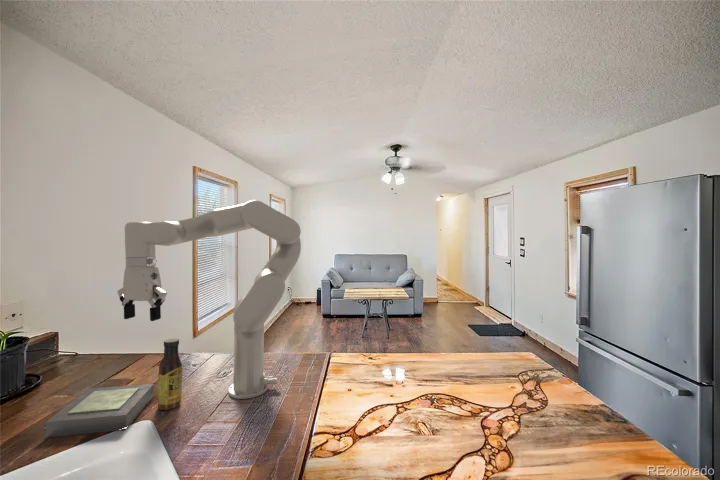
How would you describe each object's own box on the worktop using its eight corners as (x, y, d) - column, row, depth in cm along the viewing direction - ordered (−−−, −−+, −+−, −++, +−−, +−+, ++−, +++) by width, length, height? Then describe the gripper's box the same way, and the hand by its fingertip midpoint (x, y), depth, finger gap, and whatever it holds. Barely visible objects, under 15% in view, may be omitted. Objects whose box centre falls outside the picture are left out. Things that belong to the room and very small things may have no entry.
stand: (153, 396, 104) (153, 382, 104) (126, 429, 86) (126, 413, 86) (88, 401, 100) (88, 387, 100) (45, 437, 82) (45, 420, 82)
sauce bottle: (170, 412, 95) (170, 345, 94) (152, 410, 96) (152, 343, 95) (186, 401, 101) (187, 338, 101) (169, 399, 102) (169, 336, 102)
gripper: (174, 262, 99) (175, 317, 100) (129, 261, 104) (131, 314, 104) (153, 264, 92) (155, 324, 93) (106, 263, 96) (107, 320, 97)
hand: (142, 318), depth 98 cm, fingers open, 9 cm apart
